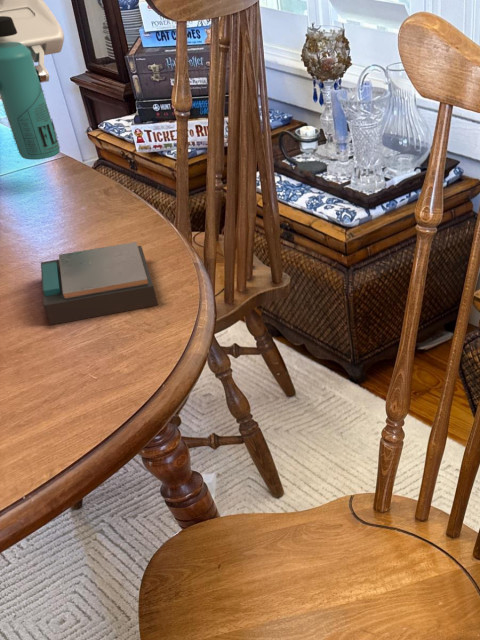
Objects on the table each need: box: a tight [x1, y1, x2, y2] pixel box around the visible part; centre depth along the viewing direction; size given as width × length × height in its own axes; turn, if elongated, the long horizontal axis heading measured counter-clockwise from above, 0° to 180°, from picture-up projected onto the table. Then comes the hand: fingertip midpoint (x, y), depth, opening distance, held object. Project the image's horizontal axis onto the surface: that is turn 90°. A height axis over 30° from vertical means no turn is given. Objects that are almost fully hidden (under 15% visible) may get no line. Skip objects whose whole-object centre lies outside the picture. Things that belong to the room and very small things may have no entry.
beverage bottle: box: [0, 16, 61, 161], centre depth 119 cm, size 6×7×20 cm
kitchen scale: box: [40, 241, 159, 326], centre depth 100 cm, size 13×13×3 cm
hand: (20, 84), depth 118 cm, fingers closed on beverage bottle, 6 cm apart
